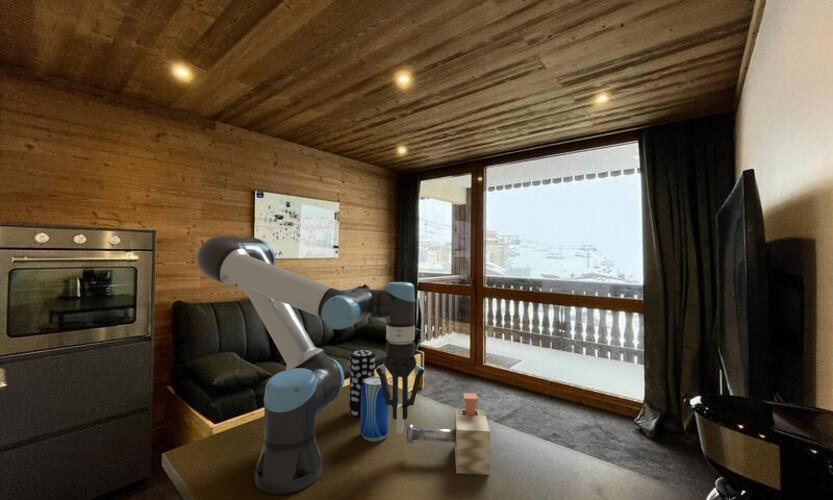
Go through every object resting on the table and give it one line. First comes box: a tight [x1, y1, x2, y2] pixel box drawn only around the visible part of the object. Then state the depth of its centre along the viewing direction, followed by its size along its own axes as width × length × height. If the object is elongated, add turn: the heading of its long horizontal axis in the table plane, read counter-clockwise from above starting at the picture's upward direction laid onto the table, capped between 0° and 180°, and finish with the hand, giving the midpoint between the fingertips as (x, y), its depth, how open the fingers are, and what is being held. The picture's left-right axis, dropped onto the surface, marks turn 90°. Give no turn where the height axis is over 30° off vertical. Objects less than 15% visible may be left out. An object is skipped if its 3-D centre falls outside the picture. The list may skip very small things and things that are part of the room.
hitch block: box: [453, 408, 491, 476], centre depth 93 cm, size 8×12×10 cm, turn 176°
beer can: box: [359, 376, 391, 442], centre depth 105 cm, size 8×8×16 cm
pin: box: [406, 423, 456, 445], centre depth 94 cm, size 16×5×5 cm, turn 86°
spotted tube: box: [348, 349, 376, 420], centre depth 119 cm, size 8×8×20 cm
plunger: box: [462, 392, 479, 416], centre depth 97 cm, size 4×4×8 cm
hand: (400, 430), depth 94 cm, fingers closed
